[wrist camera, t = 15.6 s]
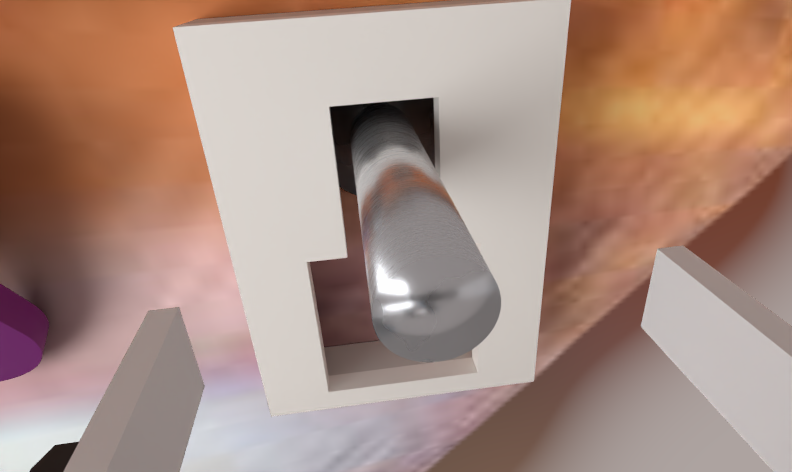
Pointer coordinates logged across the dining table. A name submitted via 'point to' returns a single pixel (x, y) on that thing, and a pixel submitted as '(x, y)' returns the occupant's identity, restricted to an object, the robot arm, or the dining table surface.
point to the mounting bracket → (20, 334)
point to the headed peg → (412, 234)
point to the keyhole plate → (319, 184)
